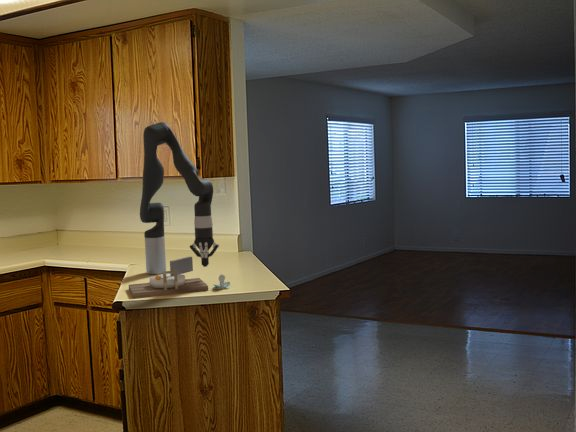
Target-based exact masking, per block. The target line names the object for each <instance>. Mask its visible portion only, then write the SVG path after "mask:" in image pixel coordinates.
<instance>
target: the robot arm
mask: <svg viewBox="0 0 576 432" xmlns="http://www.w3.org/2000/svg"><path fill="white" fill-rule="evenodd" d="M142 137H143V171H142V192H141V193H142V194H141V199H140V207H139V217H140V218H139V220H140V221H141V222H142V223H146V224H150V223H155V225H154V226H153V227H150V228H149V229H147V230H145V231H144V233H143V234H144V250H145V268H146V269H145V271H146V274H147V275H163V272H164V271H167V261H166V260H167V259H166V241H165V209H164V205H163V203H162V202H151V200H152V199H153V197H154V196H155V195H156V194H157V192H158V191H159V190H160V188H161V187H162V186H163V184H164V180H165V179H164V176H165V168H164V166H163V163H162V162H161V161H160V159H159V158H158V155H157V151H158V147H159V146H160V145H163V144H166V145H167V146H168V147H169V148H170V150H171V153H172V161H173V165H174V167H175V169H176V171H177V172H178V173H179V175H181V177H182V178H183V179H184V182H185V184H186V186H187V189H188V190H189V192H190V193H191V194H192V195H193V196H195V197H197V198H198V201H196V203H194V207H193V208H194V223H193V225H194V241H193V243H192V244H191V245H189V249H190V250H191V251H192V252H193V253H194V255H196V257H198V258H200V260H201V261H200V263H201V265H202V267H203V268H205V267H208V266H209V264H210V261H209V258H210V257H212V256H213V255H214V254H215V253H216V251H217V249H218V248H219V247H220V244H218V243H216V242H215V239H214V236H213V235H214V234H213V233H214V231H213V217H212V202H213V196H214V195H213V194H214V185H213V183H212V181H211V180H210V179H207V178H201V179H200V178H199V177H198V175H199V170H198V168H197V166H195V164H194V163H193V162H192V160H190V158H189V157H188V155H187V154H186V152H185V151H184V149H183V147H182V145H181V143H180V141H179V140H178V137H177V136H176V135H175V133H174V132H173V130H172V128H171V127H170V126H169V125H168V124H167V123H166V122H164V121H159V122H156V123H153V124H150V125H148V126H146V127H145V128H144V129H143V136H142ZM197 248H198V249H197ZM211 248H212V249H211ZM210 249H211V251H210Z"/></svg>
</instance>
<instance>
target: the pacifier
mask: <svg viewBox="0 0 576 432" xmlns="http://www.w3.org/2000/svg"><path fill="white" fill-rule="evenodd" d="M225 280H226V276H225V274H224V273H221V274H220V275H219V276H218V281H219V284H213V287H212V289H213V290H225V289H226V288H228V287H229V286H230V285H231V282H230V281H226V282H225Z"/></svg>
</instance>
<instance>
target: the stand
mask: <svg viewBox="0 0 576 432" xmlns="http://www.w3.org/2000/svg"><path fill="white" fill-rule="evenodd" d="M171 273H174V280H175V287H172V288H167V281H166V274H171ZM162 275H163V281H164V288H153V287H150V282H142V283H133V284H128V291H129V292H130V294H132V295H131V296H133V297H132V299H137V297H139V298H146V297H149V298H150V297H158V296H167V295H175V294H176V295H178V294H186V293H195V292H196V293H197V292H206V291H209V285H208V284H207V283H205V281H204V280H202V279H201V278H200V277H195V278H185V284H184V285H182V286H178V280H177V270H175V271H170V270H166V271H164V272H163V273H162Z"/></svg>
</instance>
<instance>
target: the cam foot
mask: <svg viewBox="0 0 576 432" xmlns="http://www.w3.org/2000/svg"><path fill="white" fill-rule="evenodd" d="M169 267H170V268H169V271H175V270H177V280H178V286H182V285H184V284H185V279H186V275H185V274H188V273H190V272H193V271H194V268H193V267H194V264H193V256H186V257H181V258H177V259H174V260H169ZM166 281H167V288H172V287H175V280H174V273H171V274H166ZM149 283H150V287H153V288H164V281H163V274H155V275H153V276H151V277H150V278H149Z"/></svg>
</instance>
